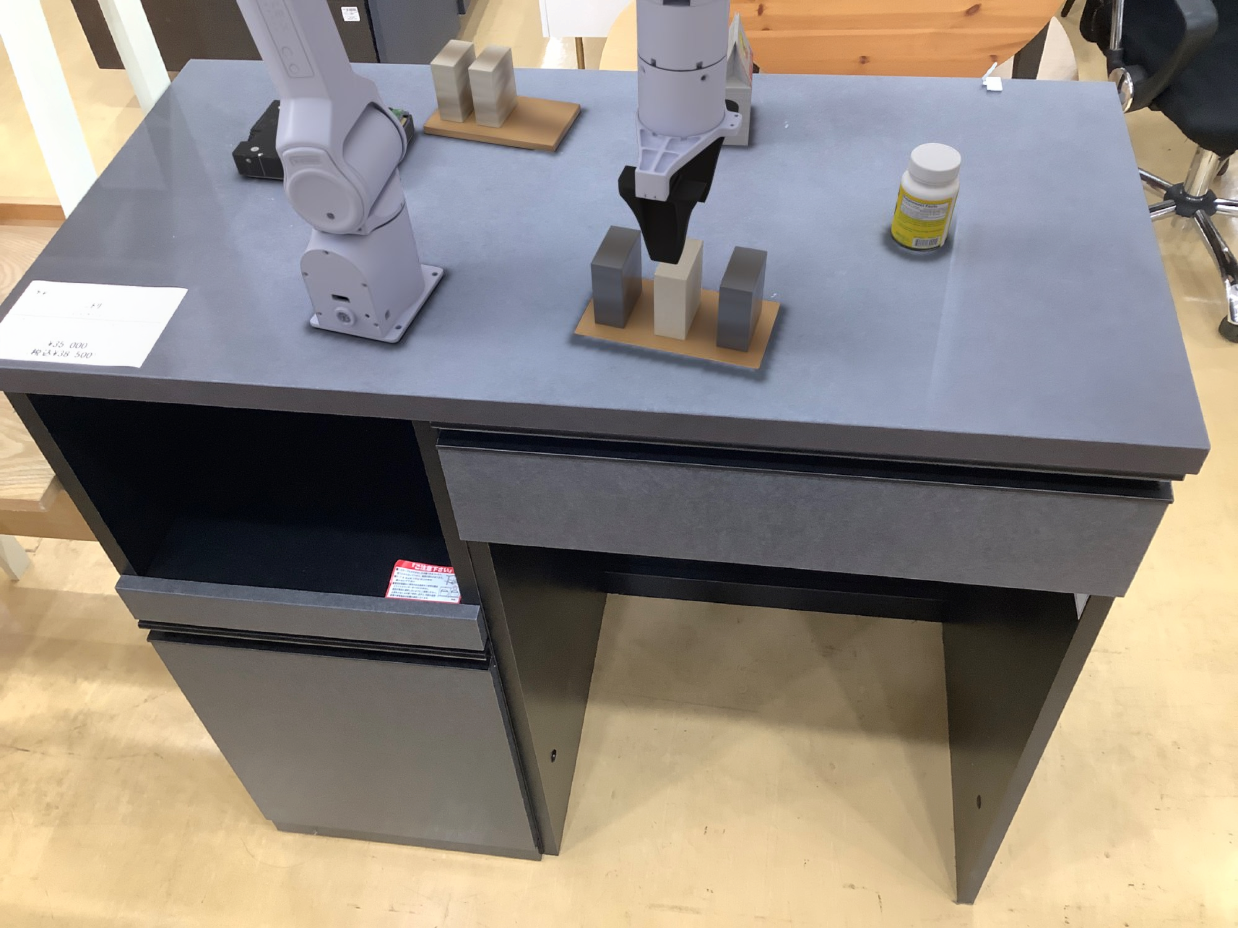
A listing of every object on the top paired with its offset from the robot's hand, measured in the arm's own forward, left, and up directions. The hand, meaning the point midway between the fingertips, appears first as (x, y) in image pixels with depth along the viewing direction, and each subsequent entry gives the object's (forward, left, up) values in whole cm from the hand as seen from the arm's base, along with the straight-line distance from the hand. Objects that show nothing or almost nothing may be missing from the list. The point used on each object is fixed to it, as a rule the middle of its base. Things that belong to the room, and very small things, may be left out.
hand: (679, 228), depth 72 cm
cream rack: (+25, +25, -9) cm, 37 cm away
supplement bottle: (+16, -17, -10) cm, 25 cm away
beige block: (0, 0, -9) cm, 9 cm away
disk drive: (+15, +40, -10) cm, 44 cm away
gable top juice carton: (+30, +3, -10) cm, 32 cm away
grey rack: (0, +1, -9) cm, 9 cm away
